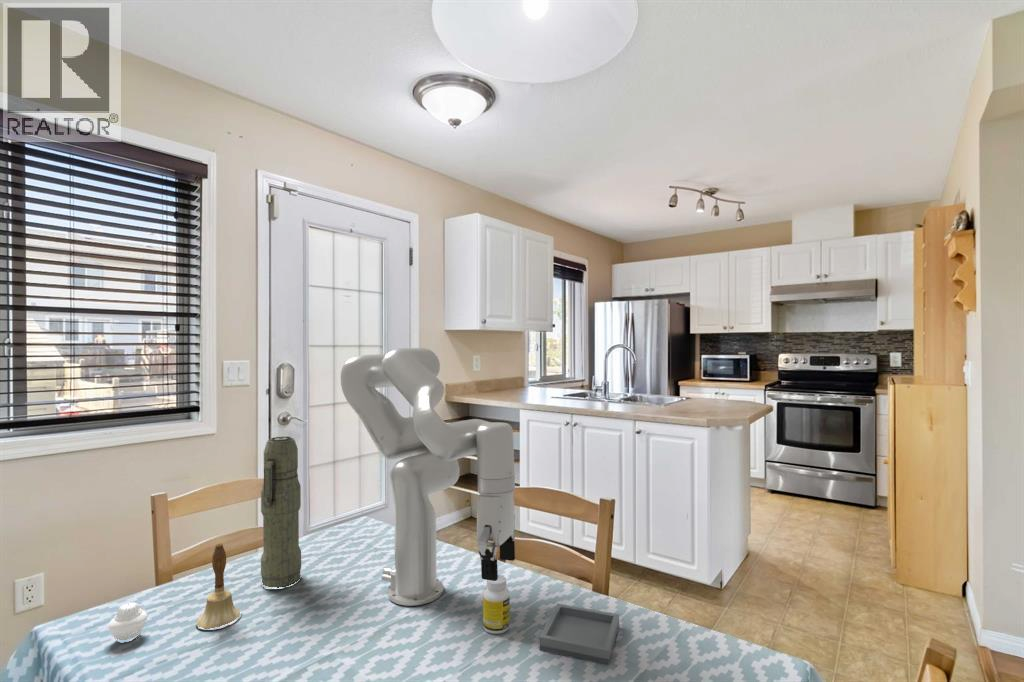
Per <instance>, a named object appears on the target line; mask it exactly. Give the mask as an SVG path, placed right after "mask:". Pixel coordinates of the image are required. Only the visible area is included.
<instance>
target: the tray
mask: <svg viewBox="0 0 1024 682" xmlns="http://www.w3.org/2000/svg"><path fill="white" fill-rule="evenodd" d="M619 629H620V613H619V614H618V613H613V612H607V611H601V610H596V609H591V608H585V607H581V606H580V607H578V606H573V605H569V604H568V605H567V604H563V603H557V604H556V605H555V607H554V609H553V611H552V613H551V615H550V617H548V619H547V622H546V624H545V626H544V628H543V629H542V631H541V633H540V635H539V637H538V638H539V641H538V642H539V646H538V647H539V648H538V649H539V651H540V652H546V653H552V654H555V655H560V656H564V657H565V656H566V657H570V658H574V659H579V660H584V661H588V662H594V663H597V664H603V665H607V666H610V662H611V658H612V655H613V652H614V649H615V644H616V641H617V637H618V633H619V631H620V630H619Z"/></svg>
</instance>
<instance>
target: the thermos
mask: <svg viewBox="0 0 1024 682" xmlns="http://www.w3.org/2000/svg"><path fill="white" fill-rule="evenodd" d="M298 453H299V449H298V445H297V443H296V440H295V438H293V437H291V436H275V437H271V438H270V439H269V440H267V441H266V444H265V447H264V449H263V483H262V487H261V488H260V489H261V490H260V512H261V514H262V518H263V519H262V520H263V523H262V525H263V528H262V531H263V533H262V534H263V535H262V536H263V538H262V539H263V544H262V546H263V547H262V548H263V550H262V551H263V552H262V553H261V554H262V555H261V557H260V576H261V584H262V583H263V585H265V586H268V587H277V588H279V587H286V586H289V585H291V584H294V583H295V582H297V581H298V580H299V579H300V580H301V578H300V576H301V570H302V550H301V547H300V545H299V544H300V537H299V536H300V534H299V531H300V530H299V529H300V528H299V526H300V523H299V520H300V519H299V518H300V517H299V515H300V514H299V513H300V509H301V504H302V501H301V500H302V499H301V496H302V495H301V493H302V492H301V490H302V489H301V484H300V480H299V474H298V469H299V465H298V464H299V459H298V458H299V454H298Z"/></svg>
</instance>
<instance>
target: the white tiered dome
mask: <svg viewBox="0 0 1024 682" xmlns="http://www.w3.org/2000/svg"><path fill="white" fill-rule="evenodd" d="M148 616H149V615H148V613H147V612H146V611H145V610H143V609H142V608H141V607H140V605H139V603H138V602H137V603H136V602H128V603H125V604H123V605H121V606H120V607H119V608H118V609H117V610H116V614H115V615H114V617H113V618H112V619H111V620H110V621H109V624H108V630H109V632H110V634H111V635H112V636H113V637H114V639H115V640H116V639H117V640H118V639H119V640H127V639H130V638H133V637H135V636H137V635H138V634H140V635H141V633H142V631H143V630H144V627H145V625H146V622H147V620H148ZM117 640H116V641H117Z"/></svg>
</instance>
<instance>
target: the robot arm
mask: <svg viewBox="0 0 1024 682" xmlns="http://www.w3.org/2000/svg"><path fill="white" fill-rule="evenodd" d="M440 367H441V364H440V360H439V357H438V356H437V354H436V353H435V352H433V351H432V350H431V349H430V348H429V349H428V348H424V347H410V348H409V347H403V348H396V349H393V350H390V351H389V352H388V353H386V354H385V353H384V354H361V355H357V356H354V357H351V358H349V359H347V360H346V361H345V363H344V364H343V365H342V367H341V371H340V386H341V390H342V391H341V392H342V393H343V396H344V398H345V400H346V402H347V403H348V405H349V406H350V408H352V410H353V411H354V412H355V413H356V414H357V416H358V417H359V418H360V420H361V421H362V424H363V425H364V428H365V429H366V431H367V433H368V434H369V436H370V438H371V440H372V442H373V443H374V444H375V447H376V448H377V450H378V452H379V453H380V455H381V456H382V457H383V458H384V459H386V460H390V461H391V460H398V461H397V462H396V463H395V464H394V465H393V466H392V467H391V470H390V472H389V486H390V490H391V491H390V492H391V495H392V496H391V497H392V502H393V503H392V504H393V512H394V513H393V514H394V515H393V517H394V518H393V519H394V524H393V525H394V569H393V568H390V567H385V568H384V569H383V571H382V575H381V581H384V582H389V583H390V586H389V587H388V590H387V597H388V599H389V600H390V601H391V602H393V603H394V604H397V605H398V606H399V605H400V606H405V607H406V606H407V607H410V606H421V605H425V604H426V605H427V604H429V603H431V602H434V601H435V600H437V599H439V598H440V597H441V595H442V594H443V592H444V584H443V582H442V581H441V580H440V579H439V578H437V515H436V510H435V508H434V506H433V504H432V503H431V501H430V497H429V496H430V495H432V494H434V493H437V492H441V491H444V490H446V489H449V488H452V487H453V486H454V485H455V484H456V483H457V482H458V480H459V478H460V472H461V471H460V470H461V469H460V465H459V461H458V460H459V459H462V458H466V457H471V456H475V455H476V459H477V460H476V461H477V465H476V466H477V467H476V468H477V493H478V494H479V495H478V498H477V499H478V500H477V507H476V508H477V509H476V510H477V511H476V513H477V514H476V544H477V547H478V554H479V560H480V564H481V565H480V570H481V571H480V572H481V574H480V575H481V579H482V580H484V581H485V580H486V581H487V580H492V581H496V580H497V579H498V575H499V573H498V572H499V570H498V558H496V556H497V551H498V548H499V559H500V560H502V561H509V562H510V561H511V562H513V561H515V560H516V550H515V549H516V546H515V539H516V535H515V529H516V528H515V527H516V522H515V521H516V513H515V502H514V501H515V500H514V494H515V491H516V482H515V480H516V476H515V475H516V474H515V452H514V451H515V449H514V448H515V447H514V446H515V445H514V430H513V427H512V426H511V424H509V423H506V422H500V421H498V422H496V421H495V422H491V421H487V420H485V419H484V420H483V419H479V418H472V419H466V420H459V421H453V422H449V423H447V422H446V421H444V419H442V417H441V416H440V415H439V414H438V412H436V410H435V409H434V408H435V407H436V406H438V404H439V403H440V401H441V400H442V399H443V397H444V394H445V386H444V384H443V382H442V381H441V380H440V379H439V378H438V375H439V373H440V370H441V368H440ZM389 387H391V388H392V387H395V388H396V390H397V391H398V392H399V393H400V394H401V396H403V398H404V399H405V400H406V401H407V402H408V403H409V404H410V406H411V407H412V416H410V417H409V416H408V417H404V416H402V415H401V414H400V413H399V411H398V410H397V408H396V406H395V405H394V403H393V402H392V401H391V400H390V399H389V398H388V397H387V395H385V394H383V393H381V392H380V391H378V390H377V388H389ZM399 459H401V460H399ZM490 548H492V549H491V550H490Z"/></svg>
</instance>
